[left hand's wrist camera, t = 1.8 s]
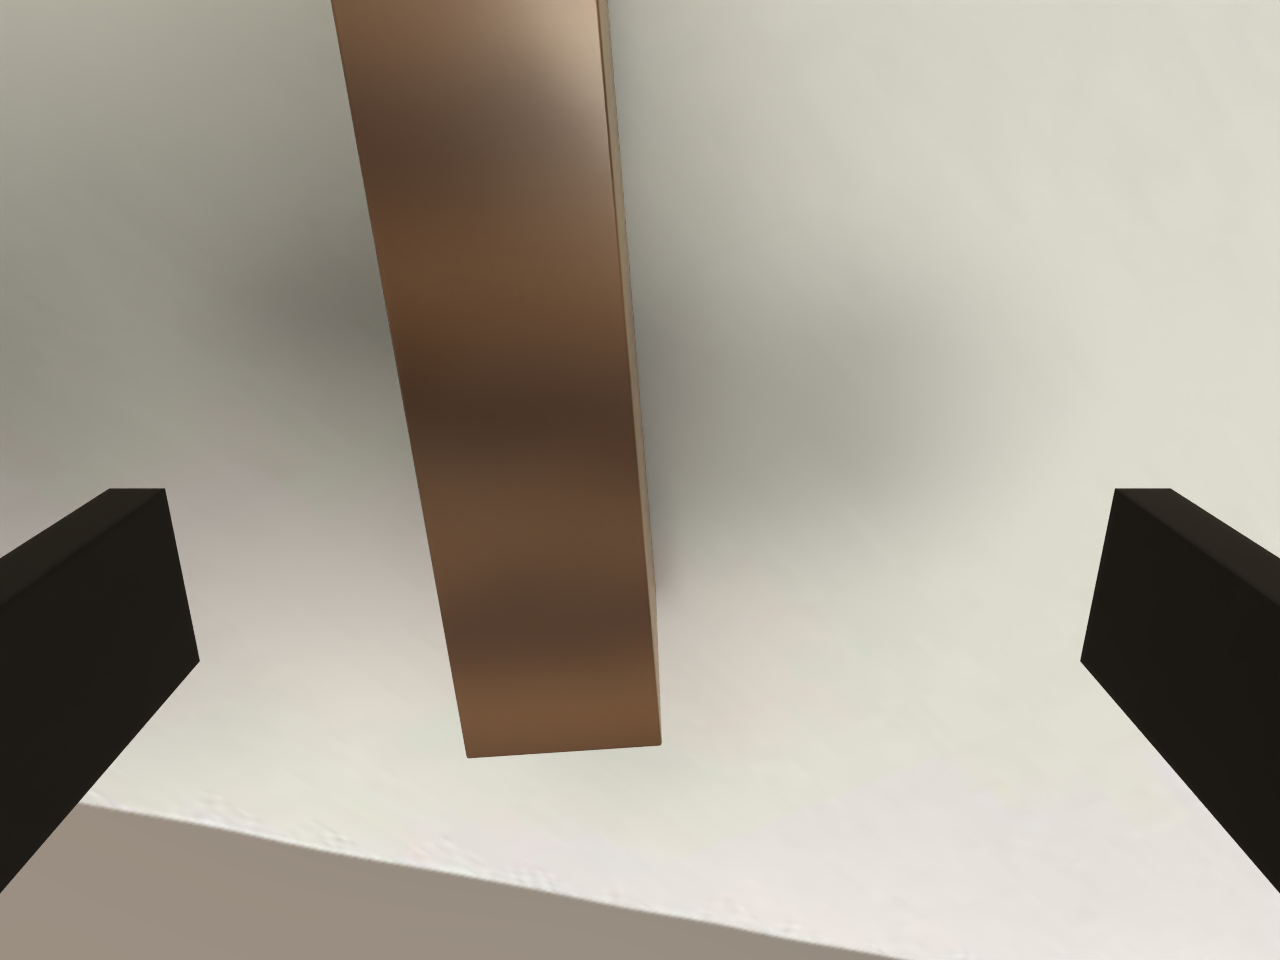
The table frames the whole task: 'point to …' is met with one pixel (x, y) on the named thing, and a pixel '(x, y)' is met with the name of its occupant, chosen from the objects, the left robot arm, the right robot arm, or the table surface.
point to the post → (515, 355)
